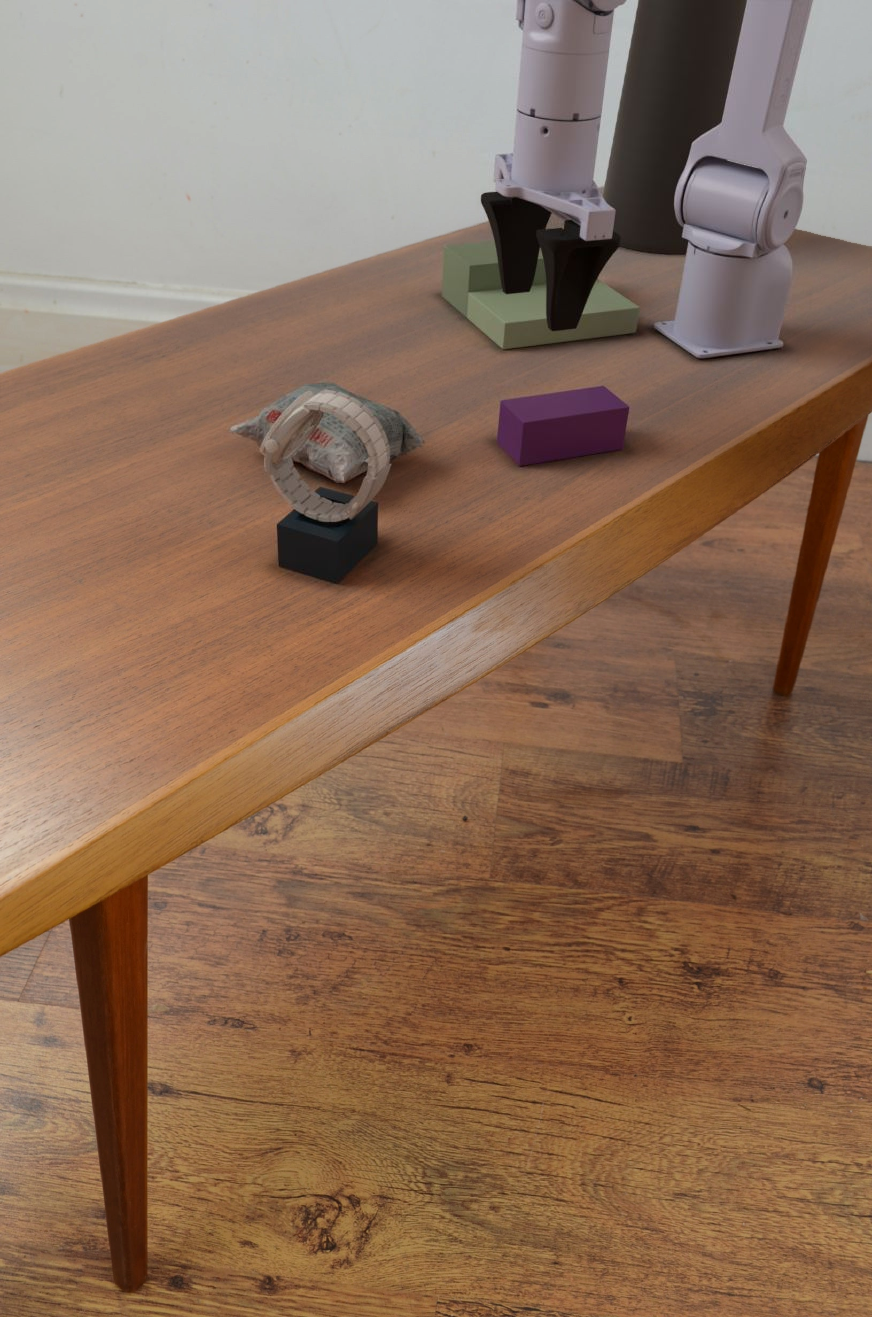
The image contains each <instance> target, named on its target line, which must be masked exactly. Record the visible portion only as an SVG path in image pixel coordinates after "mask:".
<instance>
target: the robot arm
mask: <svg viewBox="0 0 872 1317" xmlns="http://www.w3.org/2000/svg"><path fill="white" fill-rule="evenodd" d="M626 2H627V0H516V14H515V20H516V21H517V26H518V28H519V29H520V30H522V38H521V48H520V62H519V74H518V86H517V99H516V100H517V101H516V110H515V111H516V112H515V124H514V127H515V128H514V138H513V149H512V153H497V154H494V167H493V182H494V183H495V186H494V187H495V188H494V190H495V191H487V192H483V193H481V195H480V204H481V205H482V206H481V207H482V208H483V210H484V213H485V215H486V217H487V220H488V222H489V226H490V228H491V233H492V236H493V237H492V238H493V241H495V246H496V252H497V258H498V265H499V273H500V279H501V285H502V290H503V292H504V293H505V294H514V293H524V292H530V290H531V287H532V284H533V281H534V277H535V272H536V267H537V261H538V256H539V250H540V248H541V251H542V256H543V260H544V266H545V273H546V318H547V325H548V328H549V329H550V330H551V331H561V330H569V329H576V328H577V326H578V323H579V321H580V318H581V316H582V313H583V310H584V308H585V305H586V303H587V300H588V298H589V295H590V293H591V290H592V288H593V286H594V284H595V282H596V280H597V278H598V279H599V276H600V274H601V272H602V271H603V269H604V268H605V266H606V264H607V263H608V262H609V260H610V259H611V258H612V256H613V255H614V254H615V253H616V251H617V250H618V249H619V248H620V240H621V236H620V235H619V234H618V233H616V232H614V231H613V226H614V218H615V211H616V210H615V209H614V208H612V207H611V206H609V205H608V204H607V203H606V201H605V199H604V198H603V193H602V192H601V190H600V189H599V187H598V185H597V183H596V182H595V181H594V178H595V168H596V160H597V153H598V146H599V145H598V144H599V136H600V129H601V120H602V113H603V112H602V111H603V105H604V96H605V89H606V80H607V73H608V72H607V71H608V64H609V58H610V48H611V39H612V32H613V31H612V30H613V23H614V15H615V9H617V8H618V7H620V6H623V5H624V4H625V3H626ZM813 2H814V0H747V4H746V8H745V13H744V18H743V23H742V27H741V32H740V37H739V42H738V47H737V51H736V56H735V61H734V66H733V70H732V75H731V80H730V85H729V90H728V94H727V99H726V104H725V109H724V113H723V118H722V122H721V123H720V124H719V125H718V126H716V127H714V128H713V129H711V130H709V131H708V132H706V133H704V134H703V135H701V136H700V137H699V138H697V139H696V140H695V141H694V142H693V143H692V146H691V150H690V154H689V157H688V161H687V164H686V166H685V169H684V171H683V173H682V175H681V177H680V179H679V182H678V184H677V188H676V192H675V198H674V208H675V214H676V219H677V221H678V223H679V224H680V225H681V226H682V227H684V228H683V234H682V238H685V239H687V240H689V242H688V247H687V253H685V259H684V265H683V271H682V276H681V282H680V286H679V287H680V288H679V292H678V297H677V298H678V299H677V305H676V309H675V316H674V319H673V320H667V321H665V320H664V321H657V322H655V323H654V325H653V328H654V329H655V330H656V331H658V332H659V333H661V334H662V335H664V336H665V337H666V338H668V339H669V340H670V341H672V342H673V343H675V344H677V345H678V346H679V347H681V348H682V349H683V350H685V351H687V352H688V353H689V354H691V355H693V357H695V358H697V359H708V358H716V357H723V356H730V355H739V354H747V353H753V352H760V351H767V350H773V349H774V350H775V349H781V348H783V346H784V341H783V340H781V339H780V334H781V330H782V325H783V321H784V318H785V312H786V308H787V305H788V300H789V295H790V292H791V287H792V283H793V278H794V277H793V276H794V274H793V273H794V266H793V260H792V256H791V252H790V251H789V249H788V248H787V246H786V245H785V244H786V242H787V241H789V239H790V238H791V236H792V235H793V233H794V231H795V230H796V228H797V225H798V223H799V220H800V218H801V214H802V210H803V206H804V183H805V175H806V171H807V164H808V159H807V157H806V156H805V154H804V152H803V151H802V150H801V149H800V147H799V146H798V145H797V144H796V143H795V141H794V140H793V139H792V138H791V136H790V135H789V133H788V132H787V131H786V129H785V127H784V124H785V120H786V116H787V112H788V108H789V104H790V99H791V95H792V91H793V87H794V82H795V78H796V74H797V69H798V66H799V61H800V57H801V53H802V48H803V45H804V40H805V36H806V32H807V28H808V23H809V20H810V16H811V11H812V6H813ZM724 159H726V160H724ZM552 214H553V215H555V216H556V217H557V218H559V219H561V220H562V221H563V227H555V228H547V226H548V223H549V221H550V220H551V216H552Z"/></svg>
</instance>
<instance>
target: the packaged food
mask: <svg viewBox="0 0 872 1317" xmlns="http://www.w3.org/2000/svg"><path fill="white" fill-rule="evenodd" d="M326 389H327V390H332V391H337V393H338V392H342V393H345V394H347V395H349V396H350V397H354V398H355V399H357V400H359V401H360V402H361V403H362V404H363V405H365V406H366V407H367V408H368V409H369V410H370V411H371V412H372V413H373V414H374V416H375V417H376V418H377V419H378V421H379V422H380V424H381V426H382V428H383V430H384V432H385V434H386V436H387V440H388V443H387V444H389V448H390V455H389V456H390V461H389V462H391V461H393V460H396V459H397V458H399V457H401V456H402V457H403V456H405V455H407V454H408V453H410V451H412V450H416V449H417V448H418V447H419V448H422V447H423V445H424V444H425V439H423V438H422V437H421V435H420V434H419V433H418V432H417V431H416V429H415V428H414V427H413V425H412V424H411V423H410V422H409V421H408V420H407V419H406V418H405V417H404V416H403V415H402V414H401V413H400V412H399V411H398V410H396V409H394V408H391V407H388V406H385V405H383V404H381V403H379V402H375V401H373V400H371V399H369V398H365V397H363V396H361V395H357V394H355V393H352V392H351V391H349V390H348V389H345V388H343V387H341V386H340V385H338V384H336V383H333V382H331V381H330V382H329V381H324V382H323V381H322V382H314V383H313V382H312V383H308V384H304V385H302V386H300V387H298V388H296V389H294V390H293V391H290V392H288V393H286V394H284V395H283V396H281V397H280V398H279V399H277V400H275V401H274V402H272V403H271V404H269V405H267V406H265V407H264V408H263V409H262V410H261V411H260V412H259V413H258V415H256V416H255V417H253V418H249V419H247V420H246V421H244V422H241V423H238V424H234V425H233V426H231V427H230V429H229V432H230V433H231V434H233V435H234V434H236V435H239V436H241V437H242V438H245V439H250V440H252V441H254V442H255V444H256V445H257V446H258V447H259V448H260V447H261V444H262V442H263V440H264V438H265V436H266V435H267V433H268V432H269V430H270V429H271V427H272V426H273V424H274V423H275V422H276V420H277V419H278V418H279V417H280V415H281V414H282V413H283V412H284V411H285V410H286V409H287V407H288V406H289V405H290V404H291V403H292V402H293V401H294V400H296V399H297V398H298V397H299V396H300V395H302V394H303V393H305V392H307V391H311V392H313V393H314V396H315V395H316V394H318V393H319V392H321V391H323V390H326ZM358 416H359V415H358ZM358 416H357V417H358ZM374 416H373V417H374ZM373 417H372V418H373ZM372 418H371V419H372ZM345 421H346V420H345ZM345 421H342V420H341V419H339V418H337V417H335V416H334V415H333V413H332V414H329V413H326V412H324V414H323V417H322V419H321V421H320V423H319V424H318V426H317V427H316V429H315V430H314V432H313V433H312V434H311V436H310V437H309V438H308V439H307V441H306V442H305V443H304V444H303V445H302V446H301V448H300V449H299V450H298V451H297V453H296V455H295V456H294V457H291V459H292V461H293V462H295V463H299V464H302V465H303V466H304V467H305V468H307V470H309V471H311V472H313V473H316V474H319V475H322V476H325V477H326V478H328V479H330V480H332V481H333V482H335V483H337V484H339V483H341V484H344V483H346V482H348V481H351V480H352V479H354V478H356V477H358V476H359V475H361V474H363V473H365V472H366V473H367V471H368V464H369V463H370V457H371V456H369V454H368V452H367V449H366V447H365V444H366V443H367V442H366V443H363V442H362V440H361V439H360V437H359V436H358V435H357V433H356V432H357V431H354V430H353V429H351V428H350V427H349V426H348V425H347V424H346V422H345ZM371 426H372V425H371ZM369 427H370V426H369ZM369 427H368V428H369ZM368 428H367V429H368ZM367 429H366V430H367ZM358 430H359V429H358ZM366 430H365V431H366Z"/></svg>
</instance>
